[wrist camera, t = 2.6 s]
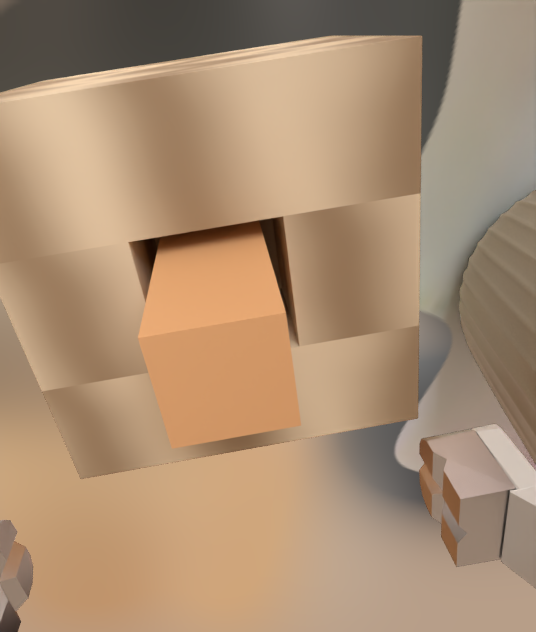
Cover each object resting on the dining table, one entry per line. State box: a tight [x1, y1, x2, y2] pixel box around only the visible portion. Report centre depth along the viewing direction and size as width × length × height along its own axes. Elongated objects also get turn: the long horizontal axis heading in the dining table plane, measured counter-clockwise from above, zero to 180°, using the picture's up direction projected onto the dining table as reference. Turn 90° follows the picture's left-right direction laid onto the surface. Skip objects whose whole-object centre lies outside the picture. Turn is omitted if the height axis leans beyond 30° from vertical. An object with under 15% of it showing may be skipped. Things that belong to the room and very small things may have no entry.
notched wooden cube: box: [0, 36, 422, 479], centre depth 23 cm, size 14×14×12 cm
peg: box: [138, 220, 301, 449], centre depth 18 cm, size 4×4×10 cm
